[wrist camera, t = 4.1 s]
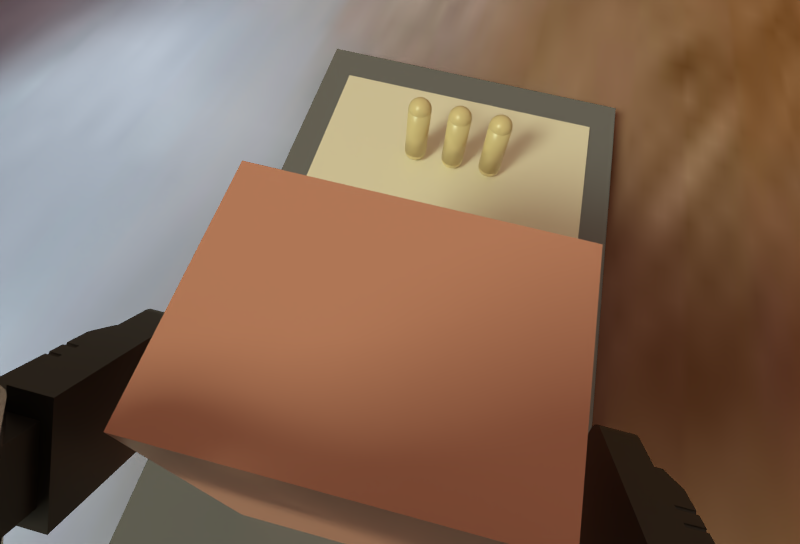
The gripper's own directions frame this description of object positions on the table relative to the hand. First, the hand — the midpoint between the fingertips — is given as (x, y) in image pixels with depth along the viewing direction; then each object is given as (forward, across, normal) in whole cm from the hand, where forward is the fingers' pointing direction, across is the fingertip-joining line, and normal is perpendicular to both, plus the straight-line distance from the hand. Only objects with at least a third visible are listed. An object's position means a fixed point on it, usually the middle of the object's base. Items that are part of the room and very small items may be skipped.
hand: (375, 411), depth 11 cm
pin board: (+8, 0, +1) cm, 8 cm away
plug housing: (+4, 0, +4) cm, 6 cm away
